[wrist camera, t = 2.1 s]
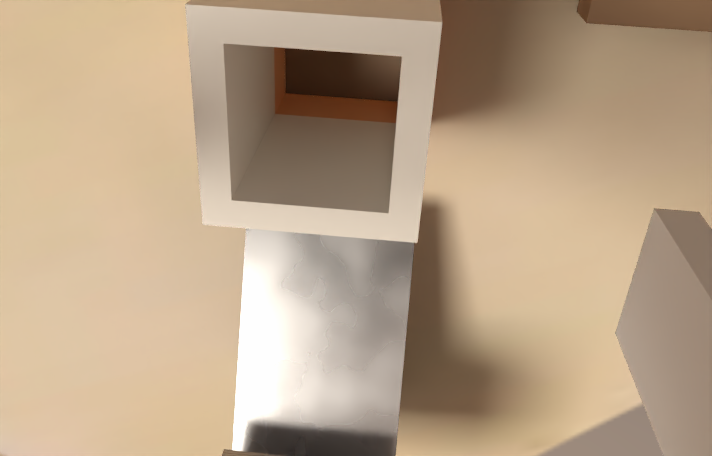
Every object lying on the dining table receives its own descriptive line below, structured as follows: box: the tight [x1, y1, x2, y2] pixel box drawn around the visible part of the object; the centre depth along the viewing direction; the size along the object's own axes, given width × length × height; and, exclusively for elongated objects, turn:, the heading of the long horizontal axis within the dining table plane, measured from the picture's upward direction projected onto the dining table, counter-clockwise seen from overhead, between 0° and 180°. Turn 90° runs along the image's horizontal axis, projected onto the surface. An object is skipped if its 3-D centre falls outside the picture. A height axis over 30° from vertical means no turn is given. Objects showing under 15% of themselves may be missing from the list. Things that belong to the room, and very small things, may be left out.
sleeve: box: [185, 0, 442, 243], centre depth 19 cm, size 6×6×8 cm
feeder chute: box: [222, 228, 414, 456], centre depth 24 cm, size 12×6×12 cm, turn 177°
